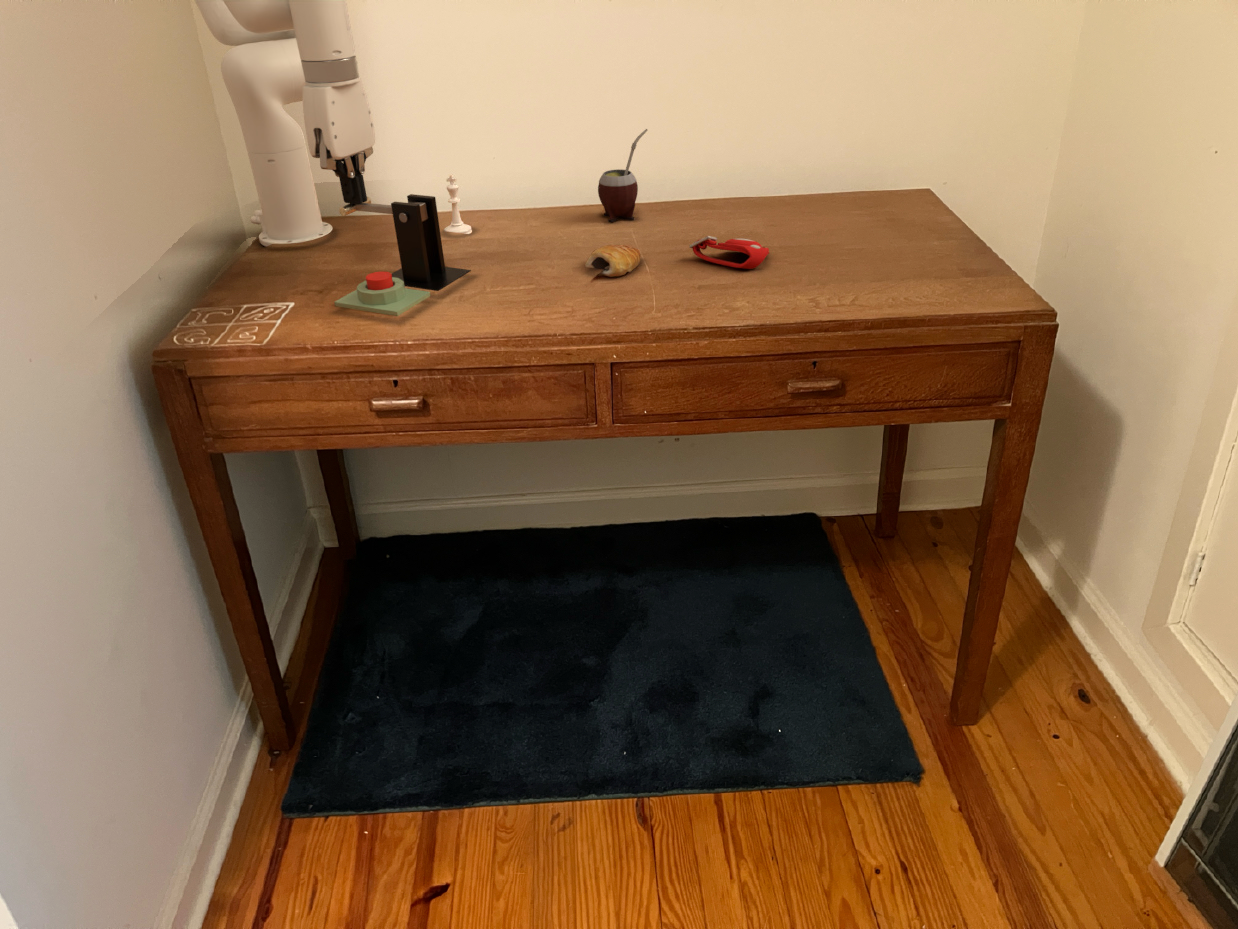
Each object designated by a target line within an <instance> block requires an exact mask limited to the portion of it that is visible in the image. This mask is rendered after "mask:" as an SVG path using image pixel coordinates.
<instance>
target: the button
mask: <svg viewBox="0 0 1238 929" xmlns="http://www.w3.org/2000/svg"><path fill="white" fill-rule="evenodd" d="M391 274H392V273H391V272H390V271H374V272H371V273H368V274H366V276H365V281H366V282H367V287H368V290H384V289H388V288H391V287H393V281H392V275H391Z"/></svg>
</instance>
